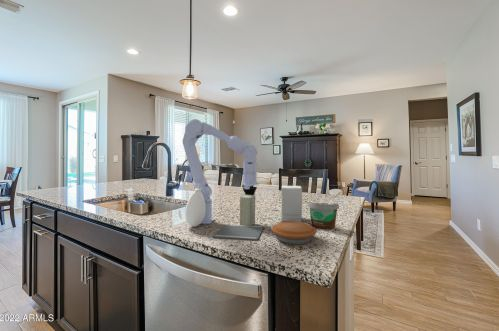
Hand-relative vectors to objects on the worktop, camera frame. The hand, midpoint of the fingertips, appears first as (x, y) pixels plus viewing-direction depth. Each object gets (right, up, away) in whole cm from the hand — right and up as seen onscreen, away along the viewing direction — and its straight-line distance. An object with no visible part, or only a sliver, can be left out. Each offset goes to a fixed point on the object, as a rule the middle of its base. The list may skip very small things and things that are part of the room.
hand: (249, 203), depth 106 cm
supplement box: (+19, -8, +4) cm, 21 cm away
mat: (-4, -9, -15) cm, 18 cm away
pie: (+15, -9, -22) cm, 28 cm away
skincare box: (-1, -8, -5) cm, 10 cm away
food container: (+29, -9, -9) cm, 31 cm away
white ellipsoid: (-23, -8, -8) cm, 25 cm away
